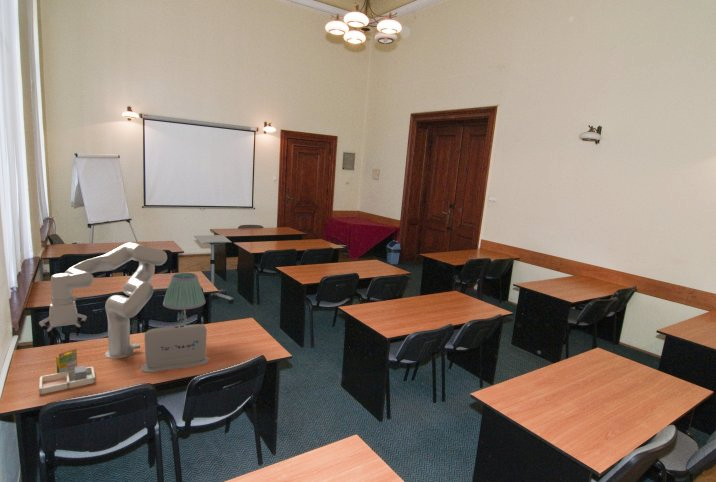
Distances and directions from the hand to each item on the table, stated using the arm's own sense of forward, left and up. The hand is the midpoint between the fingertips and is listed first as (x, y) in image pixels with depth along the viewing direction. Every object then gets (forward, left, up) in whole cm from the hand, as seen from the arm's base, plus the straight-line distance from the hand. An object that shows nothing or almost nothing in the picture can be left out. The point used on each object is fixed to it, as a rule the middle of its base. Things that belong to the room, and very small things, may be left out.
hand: (64, 336), depth 179 cm
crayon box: (0, 0, -19) cm, 19 cm away
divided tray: (0, +10, -18) cm, 21 cm away
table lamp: (-53, -8, -19) cm, 57 cm away
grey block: (-5, +10, -18) cm, 21 cm away
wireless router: (-44, +13, -19) cm, 50 cm away
